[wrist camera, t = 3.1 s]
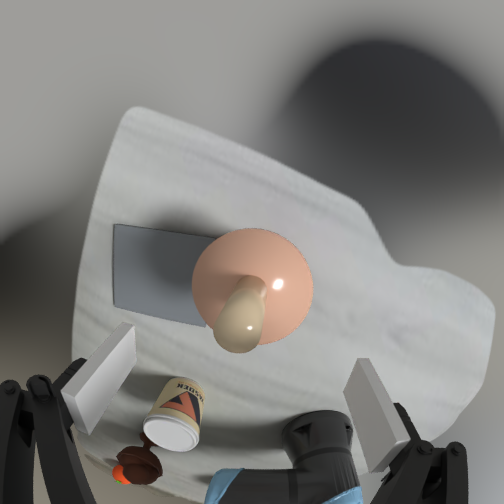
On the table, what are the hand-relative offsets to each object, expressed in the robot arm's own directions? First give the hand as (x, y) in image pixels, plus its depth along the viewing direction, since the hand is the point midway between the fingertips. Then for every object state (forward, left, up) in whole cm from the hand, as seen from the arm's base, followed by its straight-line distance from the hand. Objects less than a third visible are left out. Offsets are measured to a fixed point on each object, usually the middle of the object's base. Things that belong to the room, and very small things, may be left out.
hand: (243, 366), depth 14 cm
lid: (0, 0, -13) cm, 13 cm away
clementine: (+29, +73, -26) cm, 83 cm away
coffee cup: (+9, +28, -26) cm, 39 cm away
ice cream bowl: (+18, +49, -25) cm, 58 cm away
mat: (+14, +5, -25) cm, 29 cm away
